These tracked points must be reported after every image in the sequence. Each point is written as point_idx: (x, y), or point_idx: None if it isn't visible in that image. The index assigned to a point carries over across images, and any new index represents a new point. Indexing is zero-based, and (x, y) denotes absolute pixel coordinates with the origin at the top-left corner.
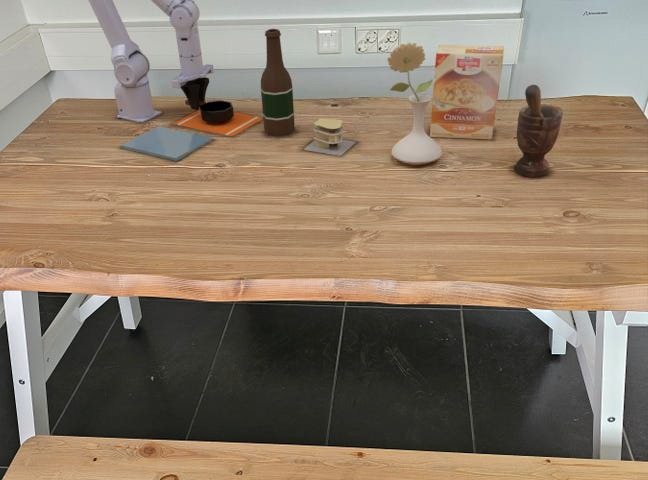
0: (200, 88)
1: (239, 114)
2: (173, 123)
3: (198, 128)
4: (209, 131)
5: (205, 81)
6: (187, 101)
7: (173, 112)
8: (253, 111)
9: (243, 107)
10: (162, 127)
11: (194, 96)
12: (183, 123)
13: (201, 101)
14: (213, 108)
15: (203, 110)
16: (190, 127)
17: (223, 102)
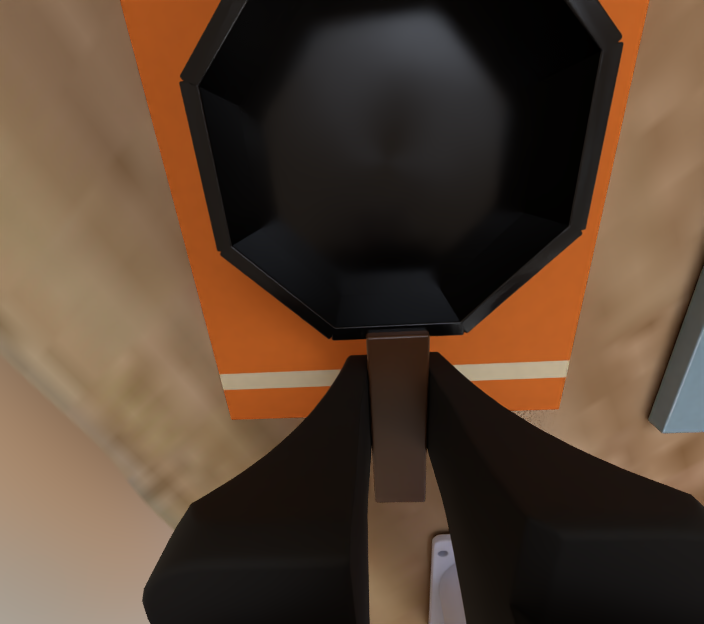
0: (360, 495)
1: (169, 84)
2: (555, 403)
3: (600, 185)
4: (640, 33)
5: (320, 542)
6: (424, 479)
7: (387, 503)
8: (17, 39)
9: (39, 200)
10: (682, 402)
11: (529, 428)
12: (537, 352)
13: (375, 384)
14: (313, 278)
15: (582, 199)
16: (589, 262)
17: (228, 199)
